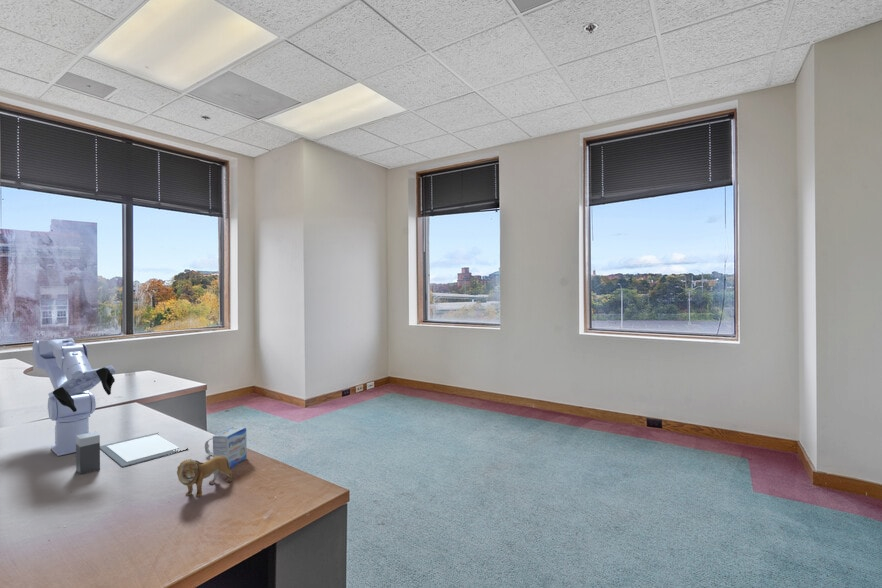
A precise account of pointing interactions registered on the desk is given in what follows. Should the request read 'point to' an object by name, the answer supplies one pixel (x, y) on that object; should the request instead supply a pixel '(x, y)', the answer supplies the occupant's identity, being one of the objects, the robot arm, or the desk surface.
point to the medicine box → (231, 445)
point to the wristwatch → (207, 448)
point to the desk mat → (139, 449)
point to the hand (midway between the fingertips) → (90, 400)
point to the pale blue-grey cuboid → (87, 452)
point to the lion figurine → (202, 472)
